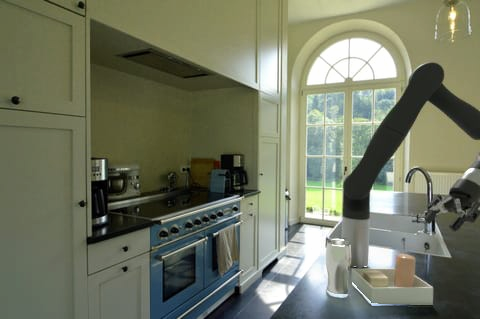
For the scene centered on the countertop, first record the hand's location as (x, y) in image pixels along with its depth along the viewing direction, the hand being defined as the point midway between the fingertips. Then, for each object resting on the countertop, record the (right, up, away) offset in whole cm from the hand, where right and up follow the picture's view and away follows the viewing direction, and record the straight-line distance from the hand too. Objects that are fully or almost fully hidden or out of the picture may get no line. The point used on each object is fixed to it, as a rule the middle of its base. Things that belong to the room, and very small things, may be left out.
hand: (438, 225), depth 88 cm
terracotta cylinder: (-12, -19, -2) cm, 22 cm away
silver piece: (-31, -20, -2) cm, 37 cm away
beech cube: (-20, -18, -2) cm, 28 cm away
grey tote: (-16, -20, -2) cm, 25 cm away
